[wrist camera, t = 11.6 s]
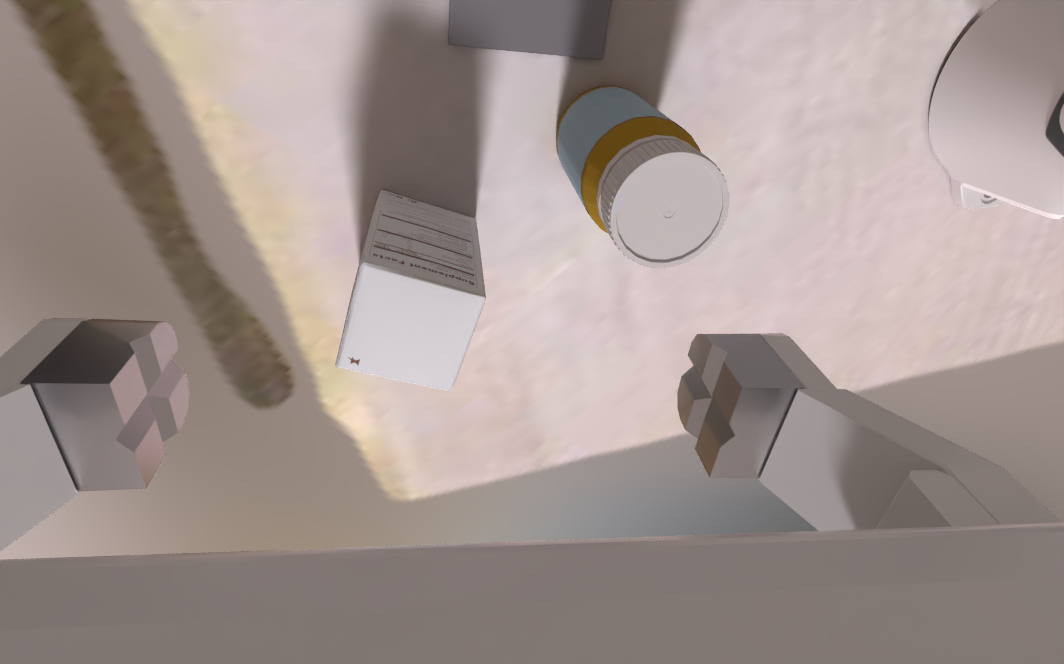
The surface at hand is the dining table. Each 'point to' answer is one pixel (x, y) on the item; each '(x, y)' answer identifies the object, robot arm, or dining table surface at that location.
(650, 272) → the dining table surface
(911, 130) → the dining table surface
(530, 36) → the mat
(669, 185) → the bottle
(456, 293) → the supplement box
